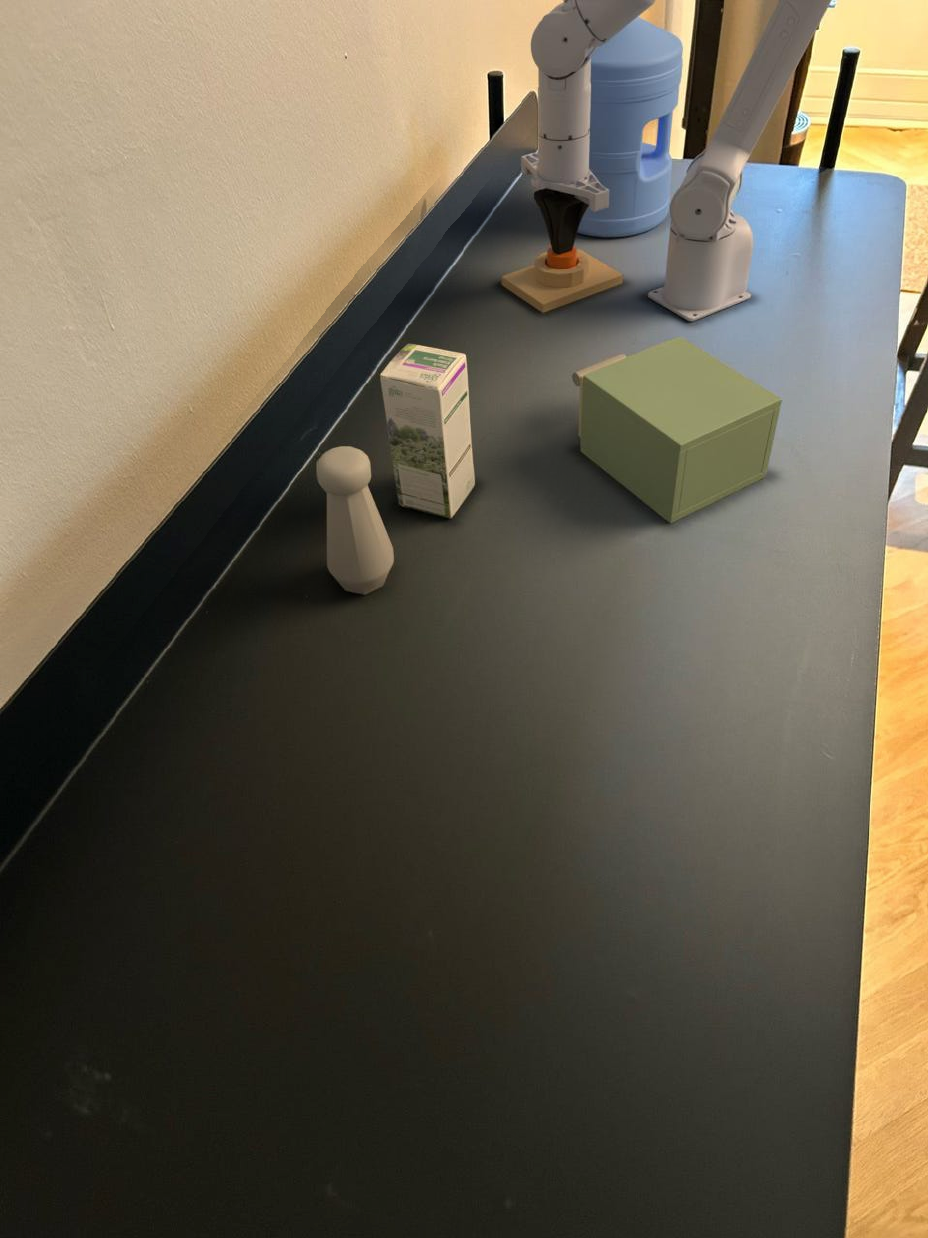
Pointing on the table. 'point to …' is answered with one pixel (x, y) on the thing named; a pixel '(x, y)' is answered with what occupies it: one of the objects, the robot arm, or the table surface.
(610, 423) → the sage green panel box
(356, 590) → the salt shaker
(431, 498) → the syrup box
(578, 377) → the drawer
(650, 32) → the water jug
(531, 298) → the block
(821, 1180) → the table surface
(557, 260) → the button
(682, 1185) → the table surface
